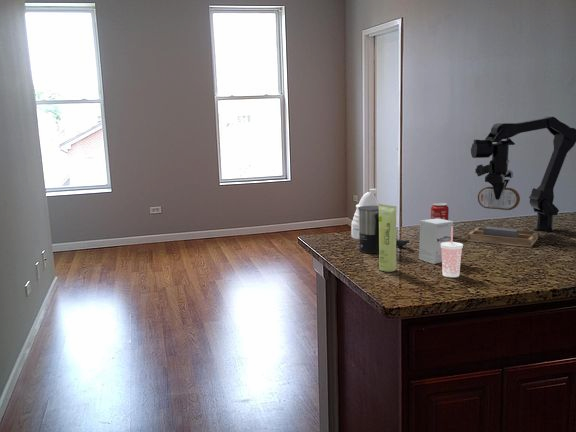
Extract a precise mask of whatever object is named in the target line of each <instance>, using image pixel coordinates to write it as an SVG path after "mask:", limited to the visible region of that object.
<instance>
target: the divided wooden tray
mask: <svg viewBox="0 0 576 432" xmlns="http://www.w3.org/2000/svg"><path fill="white" fill-rule="evenodd" d="M484 228H485V227H483V226H482V227H481V226H477V227H476V228H474V229H473V230H471V231H470V232H469V233H467V242H475V243H486V244H494V245H495V244H496V245H504V246H505V245H507V246H517V247H525V248H526V247H527V248H531V247H532V246H533V245H534V244H535V243H536V242H537V240H538V239H539V232H538V231H530V230H520V229H519V238H511V237H500V236H489V235H483V229H484Z"/></svg>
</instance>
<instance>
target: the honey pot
mask: <svg viewBox="0 0 576 432" xmlns="http://www.w3.org/2000/svg"><path fill="white" fill-rule="evenodd" d="M377 191H378V190H377V188H369V191H367V192H365V193H364V194H363V195H362V196H361V198H360V200H359V203H357V204H355V208H356V209H355V212H354V214H353V215H354V216H353V218H352V221H351V235H350V236H351V238H352V239H355V240H359V209H358V207H361V206H379V204H380V203H379V201H378V199H377V197H376V196H375V194H376V193H377Z"/></svg>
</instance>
